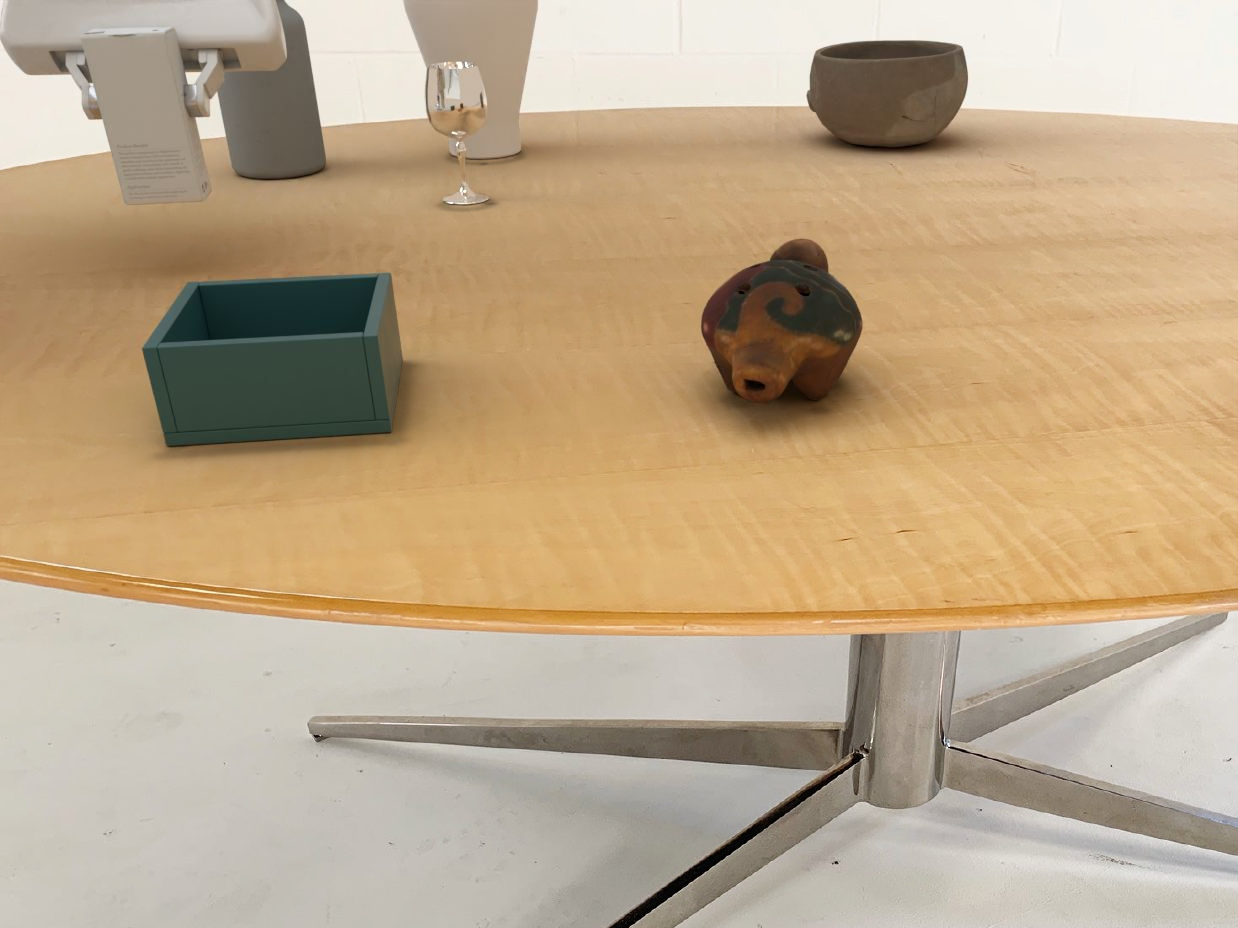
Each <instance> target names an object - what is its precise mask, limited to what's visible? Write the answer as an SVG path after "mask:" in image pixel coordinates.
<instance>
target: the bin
mask: <svg viewBox="0 0 1238 928" xmlns="http://www.w3.org/2000/svg"><path fill="white" fill-rule="evenodd" d="M392 278H393V277H392V273H391V272H379V273H378V272H374V273H371V272H370V273H352V274H350V273H349V274H332V275H330V274H329V275H312V276H311V275H310V276H292V277H291V276H289V277H268V278H247V279H228V280H227V279H226V280H208V281H207V280H206V281H205V280H204V281H187V282H186V284H185V285H184V286H183V288H182V290H181V291H180V292H179V294H178V295H177V297H176V298H175V300H174V301H173V302H172V304H171V305H170V306H169V308H168V310H167V311H166V312H165V314H164V315H163V316H162V318H161V320H160V321H159V322H158V324H157V326H156V327H155V328H154V330H153V331H152V332H151V334H150V336H149V337H148V338H147V340H146V342H145V343H144V344H143V345H142V347H141V352H142V355H143V360H144V363H145V367H146V370H147V371H146V372H147V375H148V379H149V382H150V383H149V384H150V387H151V391H152V394H153V398H154V402H155V406H156V410H157V413H158V414H157V415H158V419H159V423H160V426H161V431H162V433H163V438H164V442H165V446H166V447H176V446H177V447H179V446H190V445H191V446H192V445H193V446H195V445H209V444H211V445H212V444H225V443H226V444H227V443H240V442H241V443H242V442H258V441H259V442H260V441H272V440H273V441H275V440H290V439H304V438H306V439H307V438H321V437H332V436H333V437H337V436H339V437H340V436H352V435H367V434H383V433H386V434H387V433H392V430H393V424H394V418H395V410H396V405H397V400H398V399H397V398H398V393H399V386H400V379H401V372H402V367H403V361H404V360H403V359H404V358H403V350H402V342H401V335H400V329H399V322H398V321H399V319H398V314H397V306H396V299H395V293H394V285H393V279H392Z"/></svg>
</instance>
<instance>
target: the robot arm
mask: <svg viewBox="0 0 1238 928" xmlns="http://www.w3.org/2000/svg"><path fill="white" fill-rule="evenodd" d="M132 27H174V28H175V30H176V34H177V40H178V45H179V48H180V53H181V57H182V61H183V65H184V69H185V73H199V75H198V77H197V78H196V81H195V82H194V83H191V84H189V83H188V85H184V94H185V97H184V104H185V108H186V110H187V111H188V113H189V116H190V117H195V118H210V117H211V100H213V98H214V96H215V95H216V94H217V91H218V89H219V88H220V87H221V85H222V84H223V83H224V81H225V74H224V72H231V71H275V70H277V69H279V68H280V67H281V65H282V64H283V63H284V62H285V61H286V59H287V51H286V41H285V35H284V30H283V25H282V21H281V17H280V14H279V10H278V7H277V3H276V0H3V2H2V8H1V14H0V43H1V44H2V46H3V48H4V51H5V52H6V54H7V56H8V57H9V58H10V60H11V61H12V62H13V64H15V66H17V68H18V69H19V70H20V71H21V72H22V73H24V74H26V75H28V76H63V75H67V76H68V75H69V76H71V77H72V79H73V82H74V83H75V84H76V86H77V87H78V89H79V90H80V92H81V107H82V110H83V111H82V112H84V114H85V116H86V118H87V119H88V121H89V120H90V121H93V120H95V121H96V120H102V116H101V112H100V108H99V105H98V101H97V97H96V93H95V90H94V86H93V85H91V84H93V82H92V78H91V74H90V71H89V67H88V63H87V60H86V56H85V53H84V49H83V46H82V42H81V36H82V35H84V34H85V33H87V32H88V31H90V30H92V29H103V28H132Z"/></svg>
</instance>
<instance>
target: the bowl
mask: <svg viewBox="0 0 1238 928" xmlns="http://www.w3.org/2000/svg"><path fill="white" fill-rule="evenodd" d="M810 65H811V67H810V71H809V89H808V90H807V92H806V100H807V103H808V108H809V109H810V111H812V112H813V113H815V114H816V116H817V118H818V120H819V121H820V123H821V125H822V126H824V127H825V129H826V130H827V131H829V132H830V133H831V134H832V135H834V136H835V137H837V138H838V139H840V140H843V141H844V142H846V143H848V144H851V145H858V146H865V147H880V148H882V147H885V148H901V147H907V146H908V147H909V146H914V145H920V144H925V143H928V142H930V141H932V140H934V139H935V138H937V137H939V135H940V134H941V133H943V131H944V130H945V129H947V128H948V126H949V125H950V124H951V123H952V121H953V120H954V119H955V117H956V116H957V114H958V113H959V110H960V109H961V108H962V105H963V103H964V102H965V101H964V100H965V98H966V95H967V90H968V85H969V69H968V65H967V59H966V54H965V51H964V47H963V46H962V45H960V44H957V43H953V42H943V41H935V40H920V39H919V40H916V39H915V40H914V39H913V40H912V39H909V40H907V39H905V40H903V39H901V40H891V39H890V40H889V39H888V40H859V41H850V42H841V43H837V44H831V45H827V46H823V47H821V48H818V49H817V50H815V52H814V54H813V58H812V62H811V64H810Z"/></svg>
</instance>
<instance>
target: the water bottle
mask: <svg viewBox="0 0 1238 928" xmlns="http://www.w3.org/2000/svg"><path fill="white" fill-rule="evenodd" d="M276 3H277V7H278V10H279V14H280V17H281V21H282V25H283V30H284V35H285V41H286V51H287V59H286V61H285V62H284V63H283V64H282V65H281V67H280V68H279V69H277V70H275V71H231V72H224V74H225V81H224V83H223V84H222V85H221V87H220V88H219V89H218V91H217V92H216V94H217V97H218V98H217V99H218V103H219V104H218V105H219V108H220V114H221V118H222V124H223V128H224V134H225V138H226V143H227V148H228V153H229V159H230V164H231V167H232V169H233V170H234V172H236V174H238V175H240V176H243V177H245V178H249V179H250V178H251V179H257V180H258V179H259V180H279V179H291V178H298V177H304V176H309V175H312V174H314V173H317V172H319V171H321V170H322V169H323V168H324V167H325V166H326V165H327V154H326V149H325V143H324V142H325V141H324V138H323V137H324V135H323V130H322V123H321V116H320V112H319V106H318V99H317V93H316V92H317V91H316V86H315V81H314V73H313V66H312V60H311V55H310V54H311V53H310V48H309V43H308V35H307V30H306V25H305V21H304V18H303V17H302V15H301V13H299V12H298V11H297V9H294V7H291V6H290V5H289V4H288V3H287V1H286V0H276Z"/></svg>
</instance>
